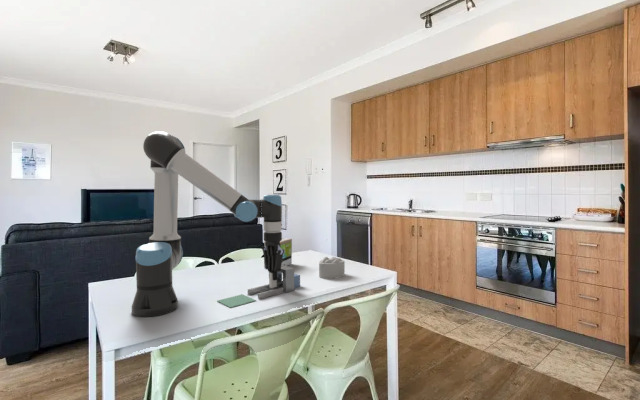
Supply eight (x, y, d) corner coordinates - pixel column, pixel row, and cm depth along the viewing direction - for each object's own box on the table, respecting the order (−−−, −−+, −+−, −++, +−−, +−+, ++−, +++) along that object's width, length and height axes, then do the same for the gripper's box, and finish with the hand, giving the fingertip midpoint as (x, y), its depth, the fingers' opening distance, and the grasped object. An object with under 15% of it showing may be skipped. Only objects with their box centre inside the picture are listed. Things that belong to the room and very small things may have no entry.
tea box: (280, 270, 181) (280, 242, 180) (263, 268, 184) (263, 241, 184) (292, 263, 195) (292, 238, 194) (276, 262, 198) (276, 237, 198)
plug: (279, 291, 144) (279, 280, 143) (272, 289, 147) (272, 277, 147) (300, 286, 152) (300, 275, 151) (293, 284, 155) (293, 273, 155)
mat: (230, 308, 125) (230, 307, 125) (217, 301, 132) (217, 300, 132) (255, 300, 132) (255, 300, 132) (242, 294, 140) (242, 294, 140)
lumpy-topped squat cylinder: (347, 275, 170) (347, 258, 169) (328, 280, 161) (328, 262, 161) (332, 271, 177) (332, 254, 177) (313, 276, 169) (313, 258, 168)
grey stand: (260, 299, 134) (260, 275, 133) (246, 293, 141) (245, 270, 141) (294, 290, 145) (294, 268, 145) (279, 285, 153) (279, 264, 153)
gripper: (289, 232, 141) (289, 288, 142) (270, 229, 150) (271, 282, 151) (274, 234, 136) (275, 292, 137) (256, 230, 145) (256, 285, 146)
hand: (272, 287), depth 144 cm, fingers closed
